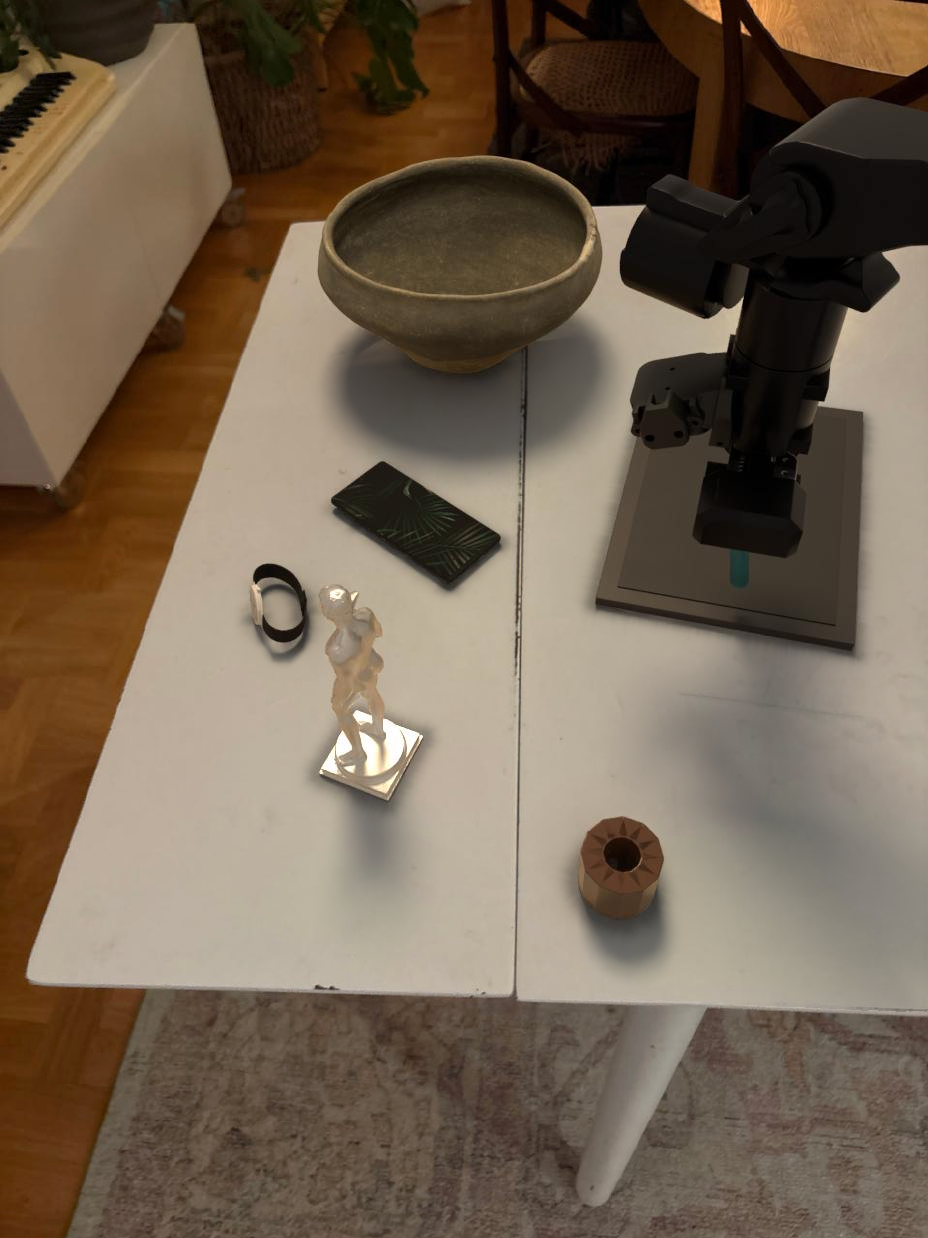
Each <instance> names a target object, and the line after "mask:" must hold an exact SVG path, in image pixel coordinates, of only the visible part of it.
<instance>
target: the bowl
mask: <svg viewBox="0 0 928 1238" xmlns="http://www.w3.org/2000/svg"><path fill="white" fill-rule="evenodd" d="M317 258H318V259H317V261H318V262H317V278H318V282H319V285H320V287H321V289H322V290H323V292H324V294H325V295H326V297H327V298H328V299H329V301H330V302H331V303H332V304H333V306H334V307H335V308H336V309H337V310H338V311H340V313H341V314H343V316H345V317H346V318H347V319H349V320H350V321H351V322H353V323H354V324H356V325H357V326H358V327H361V328H362V329H364V330H366V331H368V332H369V333H371V334H374V335H375V336H377V337H379V338H381V339H383V340H385V341H387V342H388V343H390V344H391V345H392V346H393V347H394V348H396V349H397V350H399V351H401V352H402V353H404V354H405V355H407V356H408V357H409V358H410V359H411V360H412V361H414V362H415V363H417V364H418V365H420V366H423V367H425V368H427V369H430V370H435V371H438V372H439V371H440V372H444V373H449V374H474V373H478V372H481V371H485V370H487V369H489V368H491V367H493V366H496V365H497V364H498V363H500V362H502V361H503V360H505V359H507V358H508V357H510V356H511V355H513V354H514V353H516V352H517V351H519V350H520V349H523V348H526V347H527V346H529V345H531V344H533V343H534V342H536V341H538V340H540V339H541V338H543V337H545V336H547V335H548V334H550V333H552V332H553V331H555V330H556V329H558V328H559V327H560V326H562V325H563V324H565V323H566V322H567V321H568V320H570V319H571V317H573V316H574V314H576V312H577V311H578V310H579V309H580V308H581V307H582V306H583V305H584V303H585V302H586V301H587V300H588V299H589V297H590V295H591V294H592V292H593V291H594V288H595V286H596V284H597V281H598V279H599V277H600V273H601V268H602V263H603V245H602V237H601V233H600V231H599V227H598V221H597V218H596V214H595V212H594V209H593V207H592V205H591V203H590V202H589V200H588V199H587V197H586V196H585V195H584V194H583V193H582V192H581V191H580V190H579V189H578V188H577V187H576V186H574V184H572V183H570V182H569V181H568V180H566V179H565V178H563V177H562V176H560V175H558V174H556V173H554V172H552V171H550V170H548V169H545V168H543V167H541V166H538V165H536V164H534V163H532V162H530V161H525V160H521V159H515V158H514V159H513V158H509V157H503V156H496V155H472V156H471V155H470V156H461V157H460V156H459V157H444V158H443V157H442V158H434V159H429V160H424V161H421V162H416V163H412V164H409V165H407V166H405V167H403V168H401V169H398V170H396V171H393V172H391V173H387V174H385V175H383V176H380V177H378V178H374V179H372V180H370V181H368V182H366V183H364V184H362V185H360V186H358V187H357V188H355V189H353V190H352V191H350V192H349V193H348V194H346V195H345V196H344V197H343V198H342V199H340V201H338V203H337V204H336V206H335V207H334V208H333V210H331V212H330V213H329V214H328V216H327V218H326V220H325V221H324V223H323V227H322V231H321V239H320V244H319V249H318V257H317Z"/></svg>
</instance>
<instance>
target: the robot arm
mask: <svg viewBox="0 0 928 1238" xmlns="http://www.w3.org/2000/svg"><path fill="white" fill-rule="evenodd" d="M749 183H750V184H749V191H748V194H747V195H745V196H744V197H743V198H742V199H740V200H736V199H733V198H729V197H727V196H724V195H720V194H718V193H716V192H712V191H710V190H706V189H704V188H701V187H698V186H696V185H694V184H693V183H691V182H690V181H689V180H687V179H685V178H681V177H680V176H677V175H673V174H670V173H668V174H667V175H665V176H664V177H662V178H661V179H660V180H658V181H657V182H655V183H654V184H652V185H651V186H650V187H648V188H647V191H646V201H645V206H644V207H643V209H642V210H641V212H640V213H639V215H638V216H637V218H636V220H635V221H634V223H633V226H632V227H631V229H630V232H629V234H628V237H627V239H626V243H625V247H623V249H622V250H621V252H620V257H619V262H618V263H619V265H618V266H619V276H620V280H621V281H622V283H623V285H624V286H626V287H627V288H629V289H632V290H633V291H636V292H638V293H640V294H643V295H646V296H648V297H649V298H650V297H651V298H652V299H655V300H657V301H660V302H662V303H664V304H666V305H669V306H672V307H673V308H676V309H678V310H681V311H683V312H686V313H688V314H691V315H693V316H695V317H698V318H700V319H703V320H709V319H711V318H713V317H715V316H716V315H718V314H719V313H720V312H721V310H723V308H724V309H727V310H731V309H733V308H734V307H736V306H737V305H738V304H739V303H740V302H741V301H742V303H741V309H740V312H739V317H738V321H737V326H736V329H735V333H734V334H733V333H730V334H729V339H728V344H727V349H726V351H724V352H723V351H722V352H721V351H720V352H711V353H707V352H694V353H687V354H682V355H676V356H670V357H665V358H659V359H654V360H649V361H648V362H646V363H643V364H642V365H641V366H640V367H639V368H638V370H637V371H636V376H635V378H634V383H633V387H632V390H631V393H630V397H629V403H630V406H631V409H632V411H631V417H632V423H631V428H630V432H631V435H632V436H634V437H636V438H637V437H641V438H642V441H643V444H644V445H645V446H646V447H648V448H650V449H652V450H655V449H664V448H672V447H680V446H684V445H686V443H687V442H688V441H689V438H690V436H696V435H701V434H704V433H706V432H707V431H709V430H710V429H712V430H711V435H710V440H709V445H708V446H714V447H721V448H724V449H725V450H726V451H727V453H728V454H729V459H728V464H725V463H718V462H711V461H708V462H707V467H706V472H705V477H703V482H702V487H701V492H700V497H699V502H698V507H697V512H696V517H695V522H694V528H693V533H692V537H693V538H694V539H695V540H696V541H697V542H698V543H699V544H703V545H709V546H715V547H721V548H727V549H733V550H739V551H745V552H751V553H757V554H763V555H768V556H774V557H780V558H788V557H790V556H792V555H794V554H796V552H797V549H798V546H799V543H800V540H801V538H802V535H803V530H804V519H805V509H806V498H807V493H806V491H805V490H804V489H803V488H802V487H801V486H800V484H801V475H799V474H797V466H798V459H797V458H796V457H797V456H798V454H805V455H808V452H809V449H810V446H811V442H812V431H813V420H814V416H815V413H816V410H817V407H818V406H819V403H820V402H822V403H825V401H826V398H827V396H828V393H829V389H830V377H831V365H832V362H833V359H834V355H835V353H836V348H837V346H838V342H839V339H840V335H841V333H842V330H843V326H844V323H845V320H846V316H847V315H848V314H847V313H848V310H849V309H851V310H854V311H856V312H859V313H861V314H865V313H868V312H869V311H871V310H872V309H873V308H874V307H875V306H876V305H877V304H878V303H879V302H880V301H881V300H882V299H883V298H884V297H885V296H886V295H888V294H889V292H891V291H892V290H893V289H894V288H895V287H896V286H897V285H898V284H899V283H900V281H901V275H900V273H899V272H898V270H897V269H896V268H895V266H894V264H893V263H892V261H890V260H888V259H887V258H886V257H885V256H884V255H885V254H883V253H886V252H891V251H895V250H899V249H904V248H908V247H909V248H910V247H923V246H928V112H926V111H924V110H920V109H916V108H912V107H907V106H903V105H899V104H895V103H890V102H886V101H882V100H878V99H873V98H869V97H862V96H859V97H858V96H857V97H851V98H845V99H841V100H839V101H837V102H834V103H832V104H831V105H829V106H828V107H827V108H825V109H824V110H822V111H821V112H820V113H818V114H817V115H815V116H814V117H813V118H811V119H810V120H808V121H806V122H805V123H804V124H803V125H801V126H800V127H798V129H796V130H795V131H793V132H792V133H790V134H789V135H788V136H787V137H785V138H783V139H782V140H781V141H780V142H778V143H776V144H775V145H774V146H772V147H771V148H770V149H769V150H768V151H767V152H766V153H765V154H764V155H763V156H762V157H761V158H760V159H759V161H758V162H757V165H756V166H755V169H754V171H753V173H752V175H751V177H750V182H749Z"/></svg>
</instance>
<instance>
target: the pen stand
mask: <svg viewBox="0 0 928 1238" xmlns="http://www.w3.org/2000/svg"><path fill="white" fill-rule="evenodd" d="M664 863H665V856H664V853H663V849H662V845H661V842H660V839H659V837H658V836H657V835H656V834H655V833H654V832H653V831H652V830H651V829H650V827H648V826H647V825H646V824H645V823H644V822H640V821H639V820H635V819H633V818H630V817H627V816H623V815H622V816H615V817H609V818H603V819H601V820H600V821H598V822H597V823H596V824H595V825H593V826H592V827H591V828H589V830H587V831H586V833H585V836H584V839H583V841H582V845H581V847H580V851H579V861H578V872H577V878H578V886H579V890H580V893H581V896H582V897H583V898H582V899H584V901H585V902H586V904H587V905H588V907H590V908H591V909H592V910H593V911H595V912H596V913H597V914H599V915H601V916H603V917H606V918H609V919H613V920H627V919H632V918H634V917H636V916H639V915H641V914H642V913H644V911H645V910H647V909H648V908H649V906H650V905H651V903H652V902H653V900H654V897H655V894H656V890H657V887H658V884H659V880H660V876H661V872H662V870H663V869H662V868H663V865H664Z"/></svg>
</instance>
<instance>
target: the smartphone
mask: <svg viewBox="0 0 928 1238" xmlns="http://www.w3.org/2000/svg"><path fill="white" fill-rule="evenodd" d="M330 503H331V505H333V506H334V507H335V508H337V509H339V510H340V511H341V512H342V513H343V514H346V515H347V516H348V517H349V518H351V519H352V520H354V521H355V522H357V523H358V524H360V525H361V526H363V527H364V528H366V529H367V530H369V531H370V532H372V533H373V534H374V535H376V536H377V537H379V538H380V539H382V540H383V541H385V542H386V543H388V544H389V545H390V546H392V547H394V548H395V550H396V549H397V550H398V551H399V552H401V553H402V554H403V555H405V556H406V557H408V558H409V559H411V560H412V561H413V562H415V563H416V564H418V565H420V566H421V567H423V568H424V569H425V570H427V571H428V572H430V573H431V574H433V575H434V576H436V577H437V578H438V579H439V580H441V581H442V582H444V583H445V584H449V585H450V584H453V582H455V581H456V580H457V579H458V578H459V577H460V576H462V575H463V574H464V573H465V572H466V571H467V570H469V569H470V568H471V567H472V566H473V565H474V564H476V562H478V561H479V560H480V559H481V558H482V557H484V556H485V555H486V554H487V553H489V551H491V550H492V549H493V548H494V547H495V546H496V545H498V543H500V542H501V539H502V537H501V535H500V534H499V533H498V532H496V531H495V530H494V529H492V528H490V527H489V526H487V525H486V524H484V523H482V522H481V521H479V520H478V519H476V518H474V517H473V516H471V515H470V514H468V513H467V512H465V511H464V510H462V509H460V508H459V507H457V506H455V504H452V503H451V502H450V501H448V500H446V499H445V498H443V497H441V496H440V495H438V494H437V493H435V492H433V491H432V490H430V489H428V487H426V486H424V485H422V484H421V483H420V482H418V481H416V480H415V479H413V478H411V477H410V476H408V475H406V474H405V473H404V472H402V471H401V470H399V469H397V468H396V467H394V466H392V465H391V464H390V463H387V462H386V461H384V460H381V461H379V462H377V463H376V464H375V465H373V466H372V467H371V468H369V469H368V470H367V471H365V472H364V473H362V474H361V475H360V476H358V477H357V478H356V479H354V480H352V482H350V483H349V484H348V485H346V486H345V487H344V488H342V489H341V490H340V491H338V492H337V493H336V494H334V495H333V496H332V497H331V498H330Z"/></svg>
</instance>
